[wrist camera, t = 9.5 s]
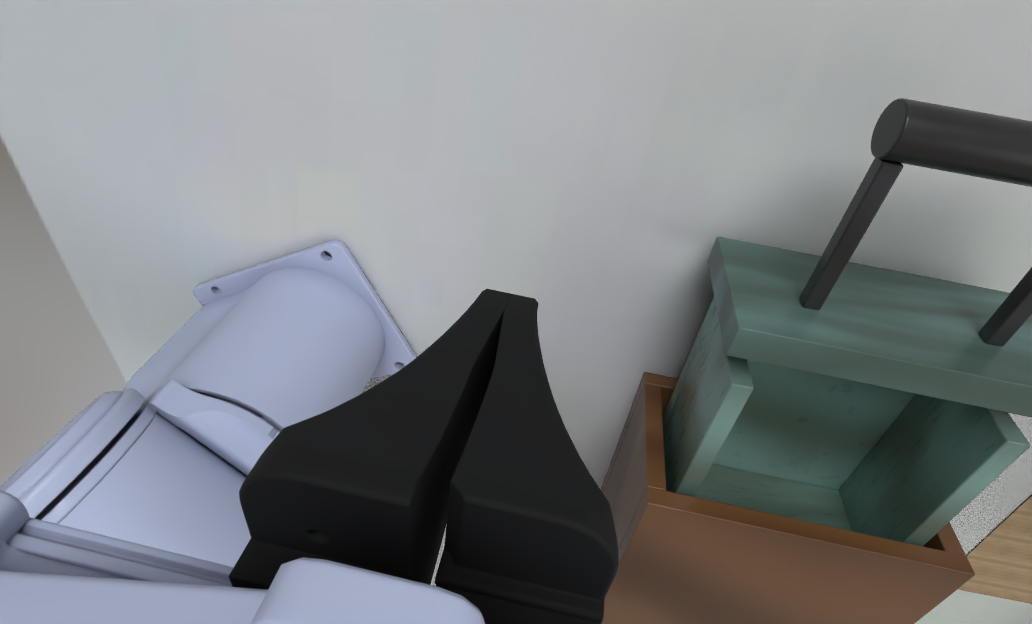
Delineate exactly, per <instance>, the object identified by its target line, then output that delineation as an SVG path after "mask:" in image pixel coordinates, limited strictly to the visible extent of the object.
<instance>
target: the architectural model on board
mask: <svg viewBox="0 0 1032 624" xmlns="http://www.w3.org/2000/svg"><path fill="white" fill-rule="evenodd" d="M966 557H967V558H968V560H969V562H970V565H971V567H972V569H973V571H974V573H975V576H973V577H972V578H971V579H970V580H968V581H967V582H966V583H964V584H963V585H962V586H961V587H959V588H958V589H959V590H964V591H969V592H974V593H979V594H984V595H990V596H995V597H1000V598H1005V599H1010V600H1015V601H1020V602H1025V603H1031V604H1032V496H1031V497H1030V498H1029V499H1028V500H1026V501H1025V502H1024V503H1023V504H1022V505H1021V506H1020V507H1019V508H1018V509H1017V510H1016V511H1015V512H1014V513H1012V514H1011V515H1010V516H1009V517H1008V518H1007V519H1006V520H1005V521H1004V522H1003V523H1002V524H1001V525H999V526H998V527H997V528H996V529H995V530H994V531H993V532H992V533H991V534H990V535H989V536H988V537H986V538H985V539H984V540H983V541H982V542H981V543H980V544H979V545H978V546H977V547H976V548H975V549H973V550H972V551H971V552H970V553H969V554H968V555H967V556H966Z"/></svg>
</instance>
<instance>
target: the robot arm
mask: <svg viewBox="0 0 1032 624" xmlns="http://www.w3.org/2000/svg"><path fill="white" fill-rule="evenodd" d="M325 251H327V252H329V253H330V254H331V256H328V255H327V254H326V253H325ZM217 287H218V288H219V289H220V290H219V289H218V288H217ZM193 293H194V295H195V297H196V298H197V299H198V301H199V302H200V303H201V304H202V305H203V307H202V308H201V309H200V310H199V311H198V312H197V313H196V314H195V315H194V316H193V317H192V318H191V319H190V320H189V321H188V322H187V323H186V324H185V325H184V326H183V327H182V328H181V329H180V330H179V331H178V332H177V333H176V334H175V335H174V336H173V337H171V338H170V339H169V340H168V341H167V342H166V343H165V344H164V345H163V346H162V347H161V348H160V349H159V350H158V351H157V352H156V353H155V354H154V355H153V356H152V357H151V358H150V359H149V360H148V361H147V362H146V363H145V364H144V365H143V366H142V367H141V368H140V369H139V370H138V371H137V372H136V373H135V374H134V375H133V376H132V378H131V379H130V380H129V381H128V383H127V384H126V386H125V387H124V389H123V391H122V392H121V391H112V392H105V393H103V394H102V395H100V396H99V397H98V398H97V399H95V400H94V401H93V402H92V403H91V404H89V405H88V406H87V407H86V408H85V409H84V410H83V411H81V412H80V413H79V414H78V415H77V416H76V417H75V418H74V419H72V420H71V421H70V422H69V423H68V424H67V425H66V426H65V427H64V428H63V429H61V430H60V431H59V432H58V433H57V434H56V435H55V436H54V437H53V438H52V439H51V440H50V441H48V442H47V443H46V444H45V445H44V446H43V447H42V448H41V449H40V450H39V451H38V452H37V453H35V454H34V455H33V456H32V457H31V458H30V459H29V460H28V461H27V462H26V463H25V464H24V465H23V466H22V467H21V468H20V469H19V470H18V471H16V473H14V474H13V475H12V476H11V477H10V478H9V479H8V480H7V481H6V482H5V483H4V484H3V485H2V486H1V487H0V624H601V623H602V621H603V617H604V601H605V596H606V594H607V592H608V590H609V588H610V586H611V584H612V582H613V580H614V578H615V576H616V573H617V569H618V564H619V553H618V542H617V535H616V530H615V524H614V520H613V515H612V511H611V507H610V503H609V501H608V500H607V498H606V497H605V496H604V494H603V493H602V491H601V490H600V488H599V487H598V485H597V484H596V482H595V481H594V479H593V478H592V476H591V475H590V473H589V471H588V470H587V468H586V466H585V464H584V463H583V461H582V459H581V458H580V456H579V454H578V452H577V450H576V448H575V446H574V444H573V442H572V440H571V438H570V436H569V434H568V432H567V430H566V428H565V426H564V424H563V421H562V419H561V416H560V414H559V412H558V409H557V406H556V404H555V401H554V398H553V395H552V392H551V389H550V386H549V383H548V379H547V375H546V372H545V368H544V364H543V359H542V354H541V349H540V343H539V337H538V327H537V308H538V302H537V301H536V300H535V299H534V298H529V297H524V296H519V295H514V294H510V293H505V292H500V291H495V290H490V289H486V290H484V291H482V292H481V294H480V295H479V296H478V298H477V299H476V300H475V301H474V303H473V304H472V305H471V306H470V307H469V309H468V310H467V311H466V312H465V313H464V314H463V315H462V316H461V317H460V318H459V319H458V320H457V321H456V322H455V323H454V324H453V325H452V326H451V327H450V328H449V329H448V330H447V331H446V332H445V333H444V334H443V335H442V336H441V337H440V338H439V339H438V340H437V341H435V342H434V343H433V344H432V345H431V346H430V347H428V348H427V349H426V350H425V351H424V352H423V353H422V354H420V355H419V356H418V357H417V356H416V355H415V353H414V352H413V350H412V348H411V347H410V345H409V344H408V342H407V341H406V339H405V337H404V336H403V334H402V333H401V331H400V330H399V328H398V327H397V325H396V323H395V322H394V320H393V319H392V317H391V316H390V314H389V312H388V311H387V309H386V308H385V306H384V305H383V303H382V301H381V300H380V298H379V297H378V295H377V294H376V292H375V290H374V289H373V287H372V286H371V284H370V283H369V281H368V279H367V278H366V276H365V275H364V273H363V272H362V270H361V268H360V267H359V265H358V264H357V262H356V261H355V259H354V258H353V256H352V254H351V253H350V251H349V250H348V248H347V247H346V245H345V244H344V243H342V242H341V241H338V240H332V241H329V242H326V243H323V244H319V245H316V246H313V247H310V248H307V249H304V250H301V251H298V252H295V253H292V254H289V255H286V256H283V257H280V258H277V259H274V260H271V261H267V262H264V263H261V264H258V265H255V266H252V267H249V268H246V269H243V270H240V271H237V272H234V273H231V274H228V275H225V276H222V277H219V278H216V279H212V280H209V281H206V282H203V283H200V284H198V285H197V286H196V287H195V288H194V290H193ZM398 362H400V363H402V364H399V363H398ZM388 375H392V376H390V377H389V378H387V379H385V380H384V381H382V382H381V383H379V384H377V385H376V386H374V387H373V388H371V389H369V390H367V391H366V392H364V393H363V391H364V389H365V388H366V386H367V384H368V382H369V380H370V379H374V378H378V377H383V376H388ZM446 524H447V527H446ZM445 527H446V538H445V547H444V551H443V554H442V557H441V561H440V564H439V568H438V571H437V574H436V579H435V584H436V586H433V585H430V584H431V580H432V576H433V573H434V569H435V565H436V561H437V557H438V554H439V550H440V546H441V542H442V538H443V535H444V531H445Z"/></svg>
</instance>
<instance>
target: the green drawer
mask: <svg viewBox="0 0 1032 624" xmlns="http://www.w3.org/2000/svg"><path fill="white" fill-rule="evenodd" d="M871 151H872V154H873V156H874V157H875V159H874V161H873V163H872V164H871V166H870V168H869V170H868V172H867V174H866V175H865V177H864V179H863V181H862V183H861V185H860V187H859V188H858V190H857V192H856V194H855V196H854V198H853V199H852V201H851V203H850V205H849V207H848V209H847V210H846V212H845V214H844V216H843V218H842V220H841V221H840V223H839V225H838V227H837V229H836V231H835V233H834V234H833V236H832V238H831V240H830V242H829V244H828V245H827V247H826V249H825V251H824V253H823V255H822V256H821V257H820V256H815V255H810V254H805V253H800V252H795V251H789V250H784V249H779V248H774V247H769V246H763V245H758V244H753V243H748V242H743V241H738V240H732V239H727V238H722V237H717V238H716V241H715V243H714V246H713V248H712V251H711V253H710V256H709V258H708V261H707V262H708V267H709V272H710V277H711V283H712V288H713V293H714V297H713V300H712V302H711V304H710V307H709V309H708V311H707V314H706V316H705V318H704V321H703V323H702V325H701V328H700V330H699V332H698V335H697V337H696V339H695V342H694V344H693V346H692V349H691V351H690V353H689V356H688V358H687V360H686V363H685V365H684V367H683V370H682V372H681V374H680V377H679V379H678V381H677V384H676V386H675V388H674V391H673V393H672V396H671V398H670V400H669V403H668V405H667V407H666V410H665V412H664V414H663V417H662V420H663V438H664V457H665V475H666V491H669V492H673V493H678V494H683V495H687V496H692V497H697V498H701V499H706V500H710V501H715V502H720V503H724V504H729V505H734V506H738V507H743V508H747V509H752V510H757V511H761V512H766V513H770V514H775V515H780V516H784V517H789V518H794V519H798V520H803V521H807V522H812V523H817V524H821V525H826V526H831V527H835V528H840V529H844V530H849V531H854V532H858V533H863V534H868V535H872V536H877V537H881V538H886V539H891V540H895V541H900V542H904V543H909V544H914V545H918V546H924V545H925V544H926V543H927V542H928V541H929V540H930V539H931V538H932V537H933V536H934V535H935V534H937V533H938V532H939V531H940V530H941V529H942V528H943V527H944V526H945V525H946V524H947V523H948V522H949V521H950V520H952V519H953V518H954V517H955V516H956V515H957V514H958V513H959V512H960V511H961V510H962V509H963V508H964V507H966V506H967V505H968V504H969V503H970V502H971V501H972V500H973V499H974V498H975V497H976V496H977V495H978V494H979V493H981V492H982V491H983V490H984V489H985V488H986V487H987V486H988V485H989V484H990V483H991V482H992V481H993V480H995V479H996V478H997V477H998V476H999V475H1000V474H1001V473H1002V472H1003V471H1004V470H1005V469H1006V468H1007V467H1008V466H1010V465H1011V464H1012V463H1013V462H1014V461H1015V460H1016V459H1017V458H1018V457H1019V456H1020V455H1021V454H1022V453H1023V452H1025V451H1026V450H1027V449H1028V448H1029V447H1030V444H1029V442H1028V441H1027V439H1026V438H1025V436H1024V435H1023V434H1022V432H1021V431H1020V429H1019V428H1018V426H1017V425H1016V424H1015V422H1014V421H1013V419H1012V418H1011V417H1010V415H1009V414H1008V413H1013V414H1018V415H1023V416H1028V417H1032V268H1031V269H1030V270H1029V271H1028V272H1027V274H1026V275H1025V276H1024V277H1023V279H1022V280H1021V281H1020V282H1019V283H1018V285H1017V286H1016V287H1015V288H1014V289H1013V291H1012V292H1011V293H1007V292H1002V291H997V290H991V289H986V288H981V287H976V286H971V285H966V284H960V283H955V282H950V281H945V280H940V279H934V278H929V277H924V276H919V275H914V274H909V273H903V272H898V271H893V270H888V269H883V268H877V267H872V266H867V265H862V264H857V263H852V262H848V261H849V259H850V258H851V256H852V254H853V252H854V251H855V249H856V247H857V246H858V244H859V242H860V240H861V239H862V237H863V235H864V234H865V232H866V230H867V228H868V227H869V225H870V223H871V221H872V220H873V218H874V216H875V215H876V213H877V211H878V209H879V208H880V206H881V204H882V203H883V201H884V199H885V197H886V196H887V194H888V192H889V191H890V189H891V187H892V185H893V184H894V182H895V180H896V178H897V177H898V175H899V173H900V172H901V170H902V168H903V165H902V164H901V163H904V164H910V165H915V166H921V167H926V168H932V169H937V170H943V171H948V172H953V173H959V174H964V175H970V176H975V177H981V178H986V179H992V180H997V181H1002V182H1008V183H1013V184H1019V185H1024V186H1030V187H1032V121H1026V120H1021V119H1015V118H1009V117H1004V116H998V115H993V114H987V113H981V112H976V111H970V110H964V109H959V108H953V107H948V106H942V105H936V104H931V103H925V102H920V101H914V100H908V99H903V98H901V99H897V100H895V101H893V102H892V103H890V104H889V105H888V106H887V107H886V109H885V110H884V111H883V113H882V114H881V116H880V118H879V119H878V121H877V124H876V126H875V129H874V131H873V135H872V140H871Z"/></svg>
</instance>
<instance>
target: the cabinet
mask: <svg viewBox="0 0 1032 624" xmlns="http://www.w3.org/2000/svg"><path fill="white" fill-rule="evenodd" d="M677 381H678V379H675V378H670V377H665V376H661V375H656V374H651V373H644V375H643V378H642V380H641V383H640V386H639V388H638V391H637V394H636V397H635V399H634V402H633V405H632V407H631V410H630V413H629V415H628V418H627V421H626V423H625V426H624V429H623V432H622V434H621V437H620V440H619V442H618V445H617V448H616V450H615V453H614V456H613V458H612V461H611V464H610V467H609V469H608V472H607V475H606V477H605V480H604V483H603V485H602V488H601V491H602V493H603V494H604V496H605V497H606V498H607V500H608V501H609V503H610V507H611V511H612V515H613V520H614V524H615V530H616V535H617V542H618V553H619V564H618V569H617V573H616V576H615V578H614V580H613V582H612V584H611V586H610V588H609V590H608V592H607V594H606V596H605V601H604V617H603V621H602V623H601V624H914V623H916V622H917V621H918V620H919V619H921V618H922V617H923V616H924V615H926V614H927V613H928V612H929V611H931V610H932V609H933V608H934V607H936V606H937V605H938V604H939V603H941V602H942V601H943V600H944V599H946V598H947V597H948V596H949V595H951V594H952V593H953V592H954V591H956V590H957V589H958V588H959V587H961V586H962V585H963V584H964V583H966V582H967V581H968V580H970V579H971V578H972V577H973V576H975V573H974V571H973V569H972V567H971V565H970V562H969V560H968V558H967V557H966V556H965V553H964V551H963V549H962V547H961V545H960V543H959V541H958V539H957V536H956V534H955V532H954V530H953V528H952V526H951V524H950V522H948V523H947V524H946V525H945V526H944V527H943V528H942V529H941V530H940V531H939V532H938V533H937V534H935V535H934V536H933V537H932V538H931V539H930V540H929V541H928V542H927V543H926V544H925V545H924V546H918V545H914V544H909V543H904V542H900V541H895V540H891V539H886V538H881V537H877V536H872V535H868V534H863V533H858V532H854V531H849V530H844V529H840V528H835V527H831V526H826V525H821V524H817V523H812V522H807V521H803V520H798V519H794V518H789V517H784V516H780V515H775V514H770V513H766V512H761V511H757V510H752V509H747V508H743V507H738V506H734V505H729V504H724V503H720V502H715V501H710V500H706V499H701V498H697V497H692V496H687V495H683V494H678V493H673V492H669V491H666V475H665V457H664V438H663V420H662V417H663V414H664V412H665V410H666V407H667V405H668V403H669V400H670V398H671V396H672V393H673V391H674V388H675V386H676V384H677Z"/></svg>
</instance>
